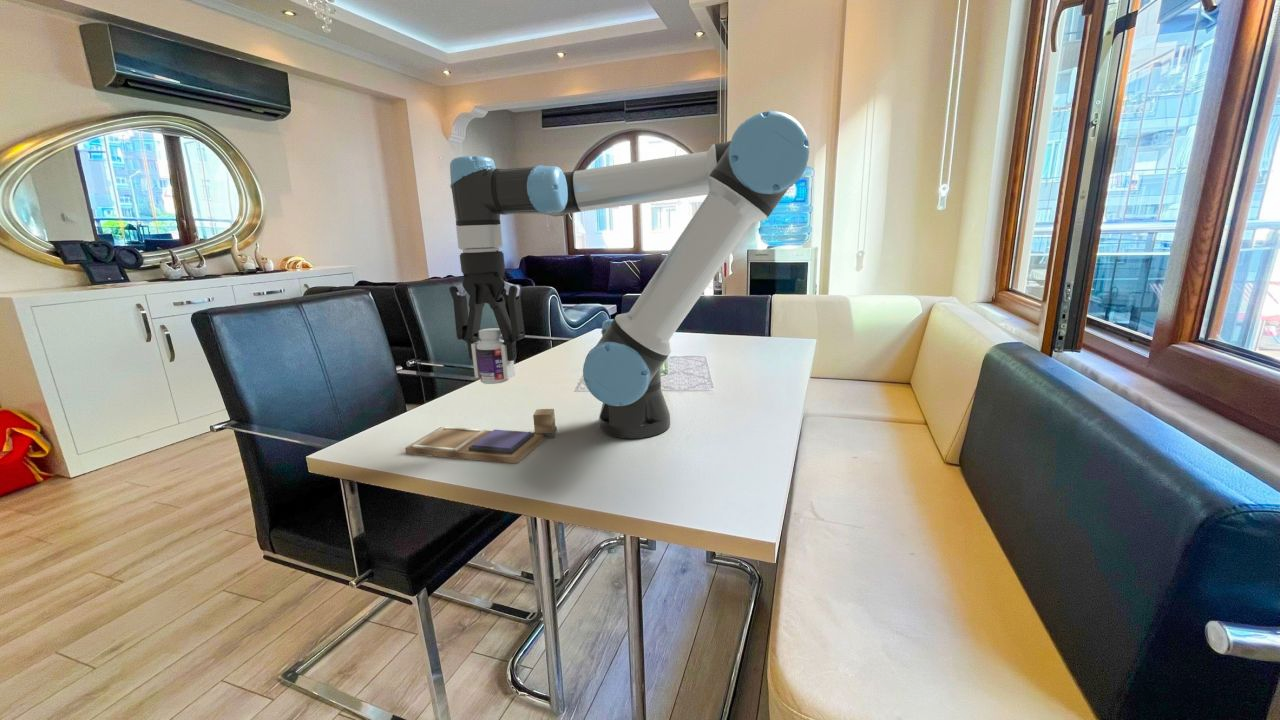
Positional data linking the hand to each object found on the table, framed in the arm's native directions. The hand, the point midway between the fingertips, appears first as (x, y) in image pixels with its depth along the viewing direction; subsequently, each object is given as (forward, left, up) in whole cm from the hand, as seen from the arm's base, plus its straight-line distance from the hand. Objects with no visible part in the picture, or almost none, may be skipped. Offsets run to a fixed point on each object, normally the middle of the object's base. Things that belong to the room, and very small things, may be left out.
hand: (495, 376), depth 97 cm
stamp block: (-5, -9, -15) cm, 18 cm away
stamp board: (+6, 0, -15) cm, 16 cm away
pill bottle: (0, 0, -1) cm, 1 cm away
